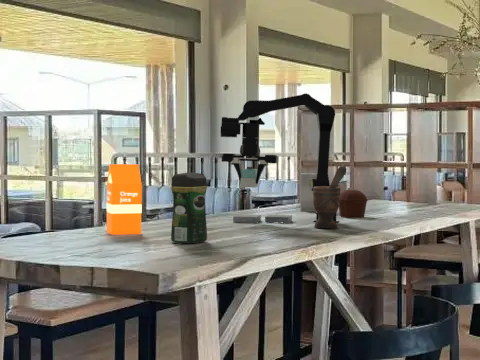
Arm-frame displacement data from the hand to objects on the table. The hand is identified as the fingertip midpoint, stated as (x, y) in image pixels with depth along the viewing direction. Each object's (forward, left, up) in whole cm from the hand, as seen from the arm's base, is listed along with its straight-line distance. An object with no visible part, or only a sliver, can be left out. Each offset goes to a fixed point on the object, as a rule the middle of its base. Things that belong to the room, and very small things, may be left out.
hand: (249, 183), depth 267 cm
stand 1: (0, 0, -13) cm, 13 cm away
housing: (0, 0, -1) cm, 1 cm away
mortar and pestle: (-31, -9, -13) cm, 34 cm away
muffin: (-5, -46, -13) cm, 48 cm away
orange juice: (-7, +52, -13) cm, 55 cm away
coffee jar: (-36, +49, -13) cm, 62 cm away
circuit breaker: (+25, -53, -13) cm, 60 cm away
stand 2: (-6, -9, -13) cm, 16 cm away
